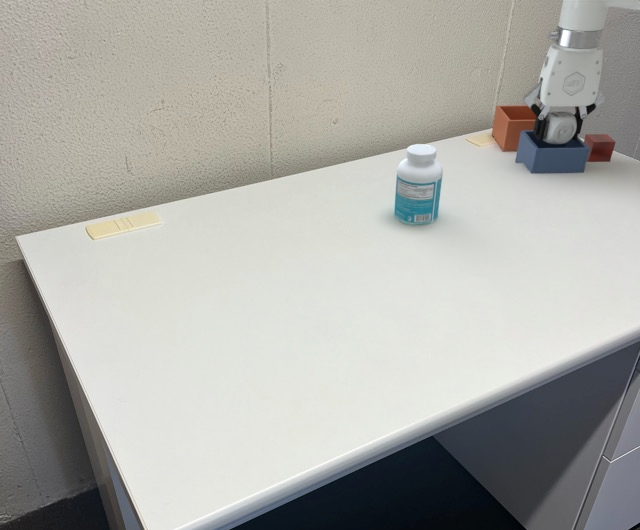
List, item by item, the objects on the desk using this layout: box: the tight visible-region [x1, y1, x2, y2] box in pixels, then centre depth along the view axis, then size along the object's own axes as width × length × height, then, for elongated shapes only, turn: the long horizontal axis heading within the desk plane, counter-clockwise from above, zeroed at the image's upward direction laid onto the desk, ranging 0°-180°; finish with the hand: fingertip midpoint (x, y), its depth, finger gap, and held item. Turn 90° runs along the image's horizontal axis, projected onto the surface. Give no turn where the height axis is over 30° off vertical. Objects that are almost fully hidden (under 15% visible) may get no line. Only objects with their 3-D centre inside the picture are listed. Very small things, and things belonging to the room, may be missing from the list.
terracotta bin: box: [491, 104, 539, 152], centre depth 134 cm, size 10×10×7 cm
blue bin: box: [514, 130, 590, 174], centre depth 121 cm, size 10×10×7 cm
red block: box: [583, 133, 616, 163], centre depth 127 cm, size 4×4×4 cm
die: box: [543, 109, 577, 144], centre depth 118 cm, size 5×5×5 cm
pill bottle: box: [393, 143, 444, 227], centre depth 101 cm, size 8×7×14 cm
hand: (555, 136), depth 119 cm, fingers closed on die, 5 cm apart
